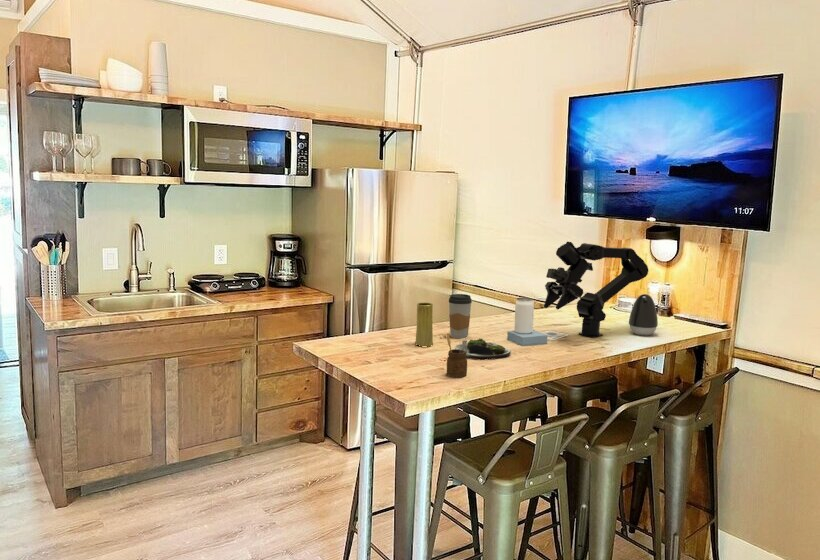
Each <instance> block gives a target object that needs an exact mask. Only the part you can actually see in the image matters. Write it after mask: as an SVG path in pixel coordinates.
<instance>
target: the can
mask: <svg viewBox="0 0 820 560" xmlns="http://www.w3.org/2000/svg"><path fill="white" fill-rule="evenodd" d="M534 312H535V303H534V298H531V297H517V298H516V302H515V306H514V328H513V329H514V330H513V331H515V332H516V333H519V334H530V333H532V332H533V330H534V317H535V315H534Z"/></svg>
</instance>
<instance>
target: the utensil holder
mask: <svg viewBox="0 0 820 560" xmlns="http://www.w3.org/2000/svg"><path fill="white" fill-rule="evenodd" d="M445 335H446V339H447V345H448V346H449V350H448V352H447V355H448V357H447V359H446V375H449V377H452V378H464V377H466V376H467V373H468V358H467V357H466V351H464V350H461V349H462V348H461V349H455V348H454V349H452V346H451V343H452V342H451V339H450V338H451V337H450V336H449V335H450V333H446V334H445ZM464 340H465V339H464V338H461V339H460V340H459V341H460V342H459V343H458V345H459V344H463V343H462V341H464ZM464 344H466V343H464ZM459 346H460V345H459ZM466 346H467V345H466ZM463 348H464V347H463ZM464 349H465V348H464Z"/></svg>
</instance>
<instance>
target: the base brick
mask: <svg viewBox="0 0 820 560" xmlns="http://www.w3.org/2000/svg"><path fill="white" fill-rule="evenodd" d="M506 340H508V341H510V342H513V343H514V344H517V345H519V346H521V347H528V345H529V346H537V345H538V344H539V345H548V339H547V335H545V334H543V333H542V332H540V331H537V330H536V329H535V330H534V329H533V332H532V333H530V334H519V333H516V332H515V331H514V330H507V338H506Z"/></svg>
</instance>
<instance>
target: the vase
mask: <svg viewBox="0 0 820 560" xmlns="http://www.w3.org/2000/svg"><path fill="white" fill-rule="evenodd" d="M433 335H434V333H433V303H431V302H417V304H416V331H415V343H414V344H417V345H420V346H429V347H432V346H433V345H434V341H433V337H434V336H433ZM417 345H416V346H417ZM431 345H432V346H431ZM420 346H419V347H420Z"/></svg>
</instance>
